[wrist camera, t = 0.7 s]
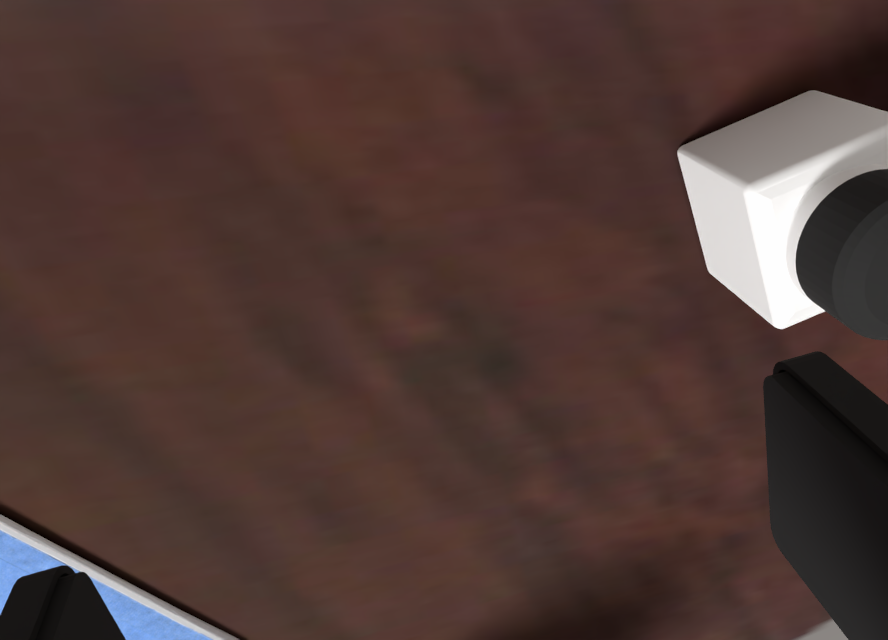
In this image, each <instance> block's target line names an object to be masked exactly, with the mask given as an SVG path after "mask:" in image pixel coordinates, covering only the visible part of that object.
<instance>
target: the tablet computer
mask: <svg viewBox="0 0 888 640" xmlns="http://www.w3.org/2000/svg"><path fill="white" fill-rule="evenodd" d="M61 565H67V566H69V567H70V568H72V569H73V571H74V572H75V573H78V572H85V573H86V574H87V575H88V576H89V577H90V579H91V580H92V582H93V584H94V585H95V587H96V589H97V591H98V592H99V594H100V596H101V597H102V599H103V601H104V603H105V604H106V606H107V608H108V610H109V611H110V613H111V615H112V616H113V618H114V620H115V622H116V623H117V625H118V627H119V629H120V630H121V632H122V634H123V635H124V637H125V639H126V640H240V639H238V638H236V637H234V636H232V635H230V634H228V633H226V632H224V631H222V630H220V629H218V628H216V627H214V626H212V625H210V624H208V623H206V622H204V621H202V620H200V619H198V618H196V617H194V616H192V615H190V614H188V613H186V612H184V611H182V610H180V609H178V608H176V607H174V606H172V605H170V604H169V603H167V602H165V601H163V600H161V599H159V598H157V597H155V596H153V595H151V594H149V593H148V592H146V591H144V590H142V589H140V588H138V587H136V586H134V585H132V584H130V583H129V582H127V581H125V580H123V579H121V578H119V577H117V576H115V575H113V574H111V573H110V572H108V571H106V570H104V569H102V568H100V567H98V566H97V565H95V564H93V563H91V562H89V561H87V560H85V559H83V558H82V557H80V556H78V555H76V554H74V553H72V552H70V551H68V550H66V549H64V548H62V547H61V546H59V545H57V544H55V543H53V542H51V541H49V540H47V539H45V538H43V537H42V536H40V535H38V534H36V533H34V532H32V531H30V530H29V529H27V528H25V527H23V526H21V525H19V524H18V523H16V522H14V521H12V520H10V519H8V518H6V517H4V516H3V515H1V514H0V615H1V612H2V610H3V608H4V606H5V603H6V601H7V599H8V597H9V594H10V592H11V590H12V588H13V585H14V584H15V582H16V581H17V580H18V579H19V578H21V577H23V576H26V575H30V574H33V573H37V572H40V571H44V570H47V569H51V568H54V567H58V566H61Z"/></svg>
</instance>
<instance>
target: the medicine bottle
mask: <svg viewBox="0 0 888 640" xmlns="http://www.w3.org/2000/svg"><path fill="white" fill-rule="evenodd" d="M677 155H678V159H679V162H680V166H681V170H682V174H683V178H684V181H685V185H686V189H687V193H688V197H689V201H690V204H691V208H692V212H693V216H694V220H695V224H696V227H697V231H698V235H699V239H700V243H701V246H702V250H703V254H704V258H705V262H706V266H707V269H708V271H709V273H710V274H711V275H713V276H714V277H715V278H716V279H717V280H719V281H720V282H721V283H722V284H723V285H725V286H726V287H727V288H728V289H729V290H731V291H732V292H733V293H734V294H735V295H737V296H738V297H739V298H740V299H741V300H743V301H744V302H745V303H746V304H748V305H749V306H750V307H751V308H752V309H754V310H755V311H756V312H757V313H758V314H760V315H761V316H762V317H763V318H764V319H766V320H767V321H768V322H769V323H770V324H772V325H773V326H774V327H776V328H779V329H784V328H787V327H789V326H791V325H794V324H796V323H798V322H801V321H803V320H806V319H808V318H810V317H813V316H815V315H817V314H820V313H822V312H824V311H826V312H828V313H829V314H830V315H832V316H833V317H834V318H836V319H837V320H839V321H840V322H841V323H843V324H844V325H846V326H847V327H848V328H850V329H851V330H853V331H854V332H855V333H857V334H859V335H862V336H864V337H867V338H871V339H876V340H888V112H886V111H883V110H879V109H876V108H873V107H869V106H866V105H863V104H859V103H856V102H853V101H849V100H846V99H843V98H839V97H836V96H833V95H829V94H826V93H823V92H819V91H816V90H812V91H807V92H805V93H803V94H800V95H798V96H796V97H793V98H791V99H789V100H787V101H784V102H782V103H780V104H777V105H775V106H773V107H770V108H768V109H766V110H763V111H761V112H759V113H756V114H754V115H752V116H749V117H747V118H745V119H743V120H740V121H738V122H736V123H733V124H731V125H729V126H726V127H724V128H722V129H719V130H717V131H715V132H712V133H710V134H708V135H706V136H703V137H701V138H699V139H696V140H694V141H692V142H689V143H687V144H685V145H682V146H681V147H680V148H679V149H678V151H677Z"/></svg>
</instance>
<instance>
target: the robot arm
mask: <svg viewBox="0 0 888 640" xmlns="http://www.w3.org/2000/svg"><path fill="white" fill-rule="evenodd" d="M763 389H764V408H765V427H766V446H767V466H768V485H769V504H770V523H771V530H772V533H773V537H774V539H775V542H776V544H777V546H778V548H779V549H780V551H781V552H782V554H783V555H784V556H785V558H786V559H787V560H788V561H789V563H790V564H791V565H792V567H793V568H794V569H795V571H796V572H797V573H798V574H799V576H800V577H801V578H802V580H803V581H804V582H805V584H806V585H807V586H808V587H809V589H810V590H811V591H812V593H813V594H814V595H815V597H816V598H817V599H818V600H819V602H820V603H821V604H822V606H823V607H824V608H825V610H826V611H827V612H828V613H829V615H830V616H831V617H832V619H833V620H834V621H835V623H836V624H837V625H838V626H839V628H840V629H841V630H842V632H843V633H844V634H845V636H846V637H847V638H848V639H849V640H888V405H887V404H886V403H885V402H884V401H882V400H881V399H880V398H879V397H877V396H876V395H875V394H874V393H873V392H871V391H870V390H869V389H868V388H866V387H865V386H864V385H863V384H861V383H860V382H859V381H858V380H856V379H855V378H854V377H853V376H852V375H850V374H849V373H848V372H847V371H845V370H844V369H843V368H842V367H840V366H839V365H838V364H837V363H836V362H834V361H833V360H832V359H831V358H829V357H828V356H827V355H825V354H824V353H822V352H812V353H809V354H805V355H802V356H798V357H795V358H791V359H788V360H784V361H781V362H778V363H777V364H775V367H774V369H773V375H771V376H767V377H766V378H765V380H764V386H763ZM0 640H126V639H125V637H124V635H123V634H122V632H121V630H120V629H119V627H118V625H117V623H116V622H115V620H114V618H113V616H112V615H111V613H110V611H109V610H108V608H107V606H106V604H105V603H104V601H103V599H102V597H101V596H100V594H99V592H98V591H97V589H96V587H95V585H94V584H93V582H92V580H91V579H90V577H89V576H88V575H87V574H86V573H85V572H78V573H75V572H74V571H73V569H72V568H70V567H69V566H67V565H61V566H58V567H54V568H51V569H47V570H44V571H40V572H37V573H33V574H30V575H26V576H23V577H21V578H19V579H18V580H17V581H16V582H15V584H14V585H13V588H12V590H11V592H10V594H9V597H8V599H7V601H6V603H5V606H4V608H3V610H2V612H1V615H0Z"/></svg>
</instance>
